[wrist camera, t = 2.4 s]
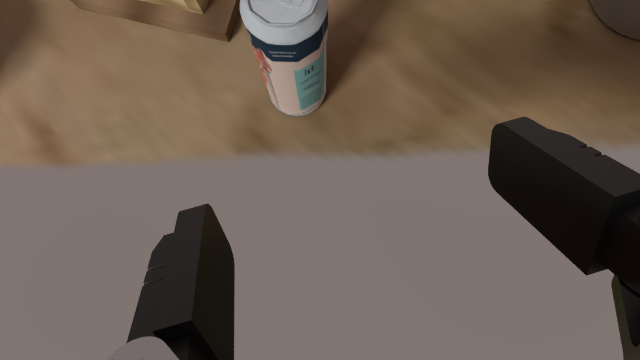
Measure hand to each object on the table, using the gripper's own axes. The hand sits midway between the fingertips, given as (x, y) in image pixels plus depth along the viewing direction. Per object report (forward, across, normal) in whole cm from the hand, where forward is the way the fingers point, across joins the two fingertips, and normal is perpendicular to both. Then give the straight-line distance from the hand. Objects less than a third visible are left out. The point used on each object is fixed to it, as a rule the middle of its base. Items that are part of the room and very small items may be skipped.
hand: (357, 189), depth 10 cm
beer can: (+21, 0, +5) cm, 22 cm away
